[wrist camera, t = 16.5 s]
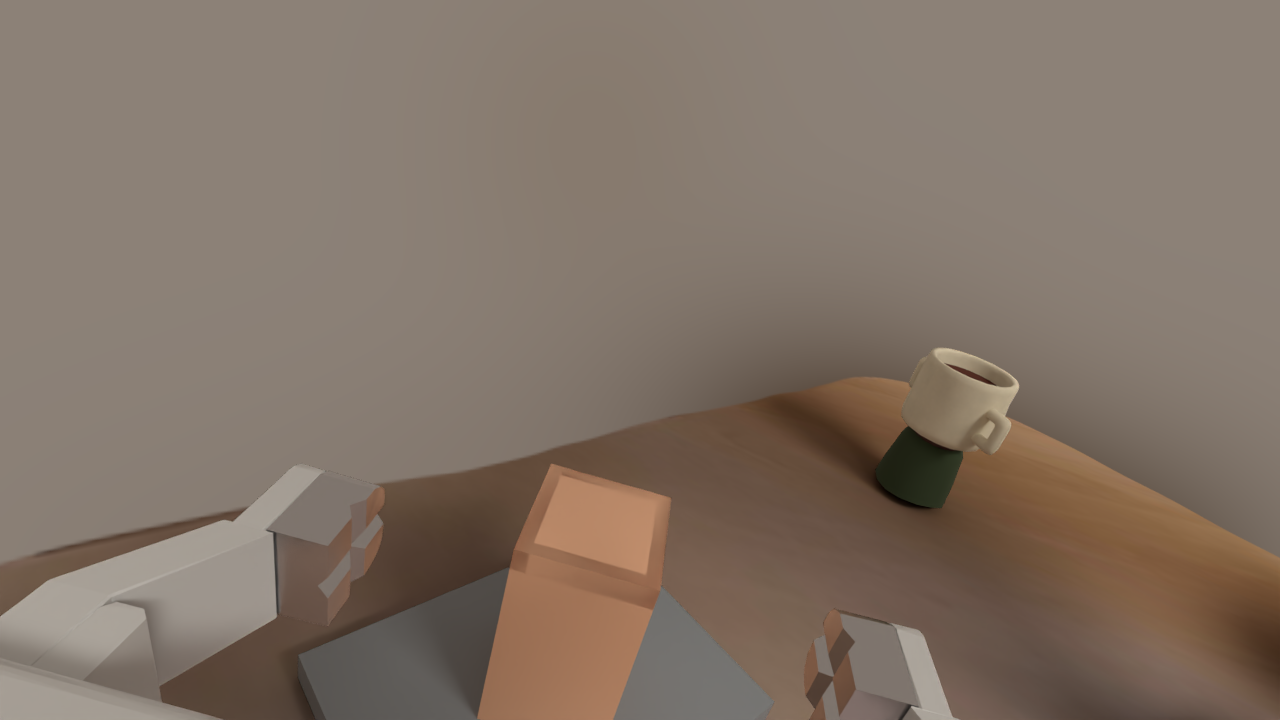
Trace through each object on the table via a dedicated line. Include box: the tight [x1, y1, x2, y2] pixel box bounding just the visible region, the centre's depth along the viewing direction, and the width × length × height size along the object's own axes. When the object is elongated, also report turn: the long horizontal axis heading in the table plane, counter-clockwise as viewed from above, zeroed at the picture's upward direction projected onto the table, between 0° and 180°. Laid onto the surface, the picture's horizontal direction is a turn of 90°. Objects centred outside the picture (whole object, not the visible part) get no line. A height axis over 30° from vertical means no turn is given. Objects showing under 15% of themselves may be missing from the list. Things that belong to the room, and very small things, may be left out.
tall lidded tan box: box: [477, 464, 671, 720], centre depth 28 cm, size 6×6×10 cm
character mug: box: [875, 348, 1019, 508], centre depth 54 cm, size 11×7×13 cm, turn 13°
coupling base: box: [298, 567, 774, 720], centre depth 28 cm, size 18×14×9 cm
